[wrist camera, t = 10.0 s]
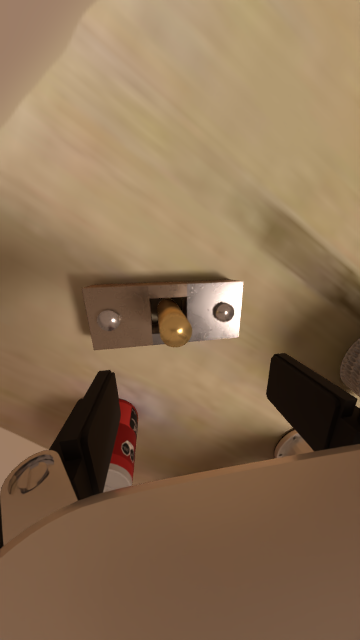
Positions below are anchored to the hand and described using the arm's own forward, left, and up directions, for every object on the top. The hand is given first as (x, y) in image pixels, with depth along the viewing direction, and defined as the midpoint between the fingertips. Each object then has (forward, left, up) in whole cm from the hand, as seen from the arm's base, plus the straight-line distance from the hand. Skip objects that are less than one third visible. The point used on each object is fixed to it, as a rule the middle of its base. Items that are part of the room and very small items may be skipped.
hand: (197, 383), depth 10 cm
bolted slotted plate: (0, 0, -17) cm, 17 cm away
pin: (0, 0, -17) cm, 17 cm away
